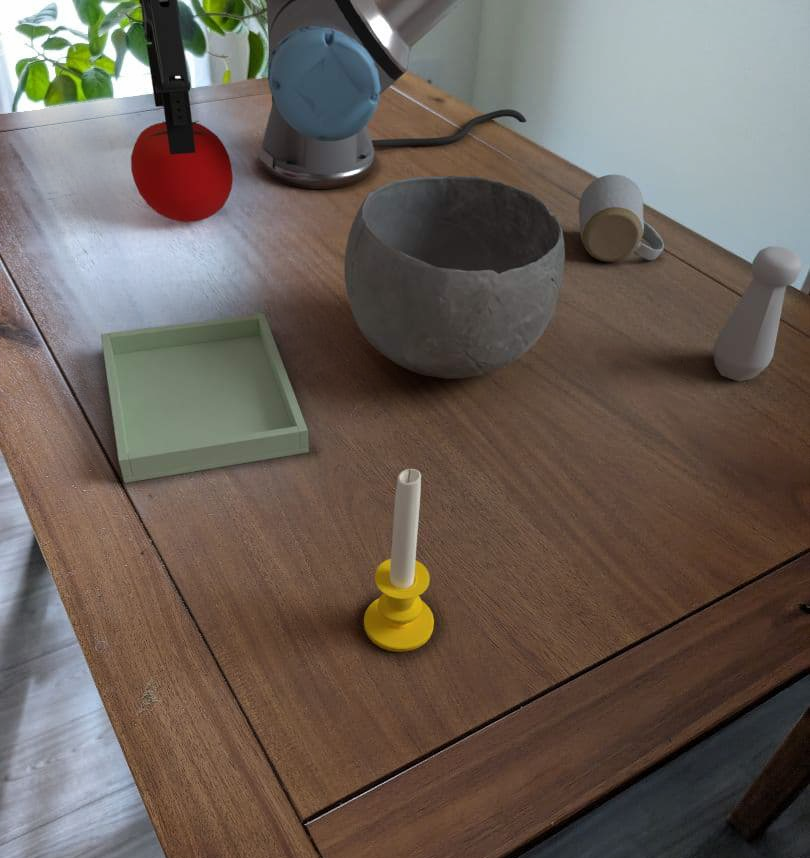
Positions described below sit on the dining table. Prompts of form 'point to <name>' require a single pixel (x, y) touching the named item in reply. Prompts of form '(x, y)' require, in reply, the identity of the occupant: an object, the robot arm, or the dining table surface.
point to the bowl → (453, 273)
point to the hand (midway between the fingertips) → (174, 127)
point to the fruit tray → (200, 397)
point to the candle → (402, 579)
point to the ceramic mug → (616, 221)
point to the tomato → (182, 174)
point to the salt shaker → (756, 316)
